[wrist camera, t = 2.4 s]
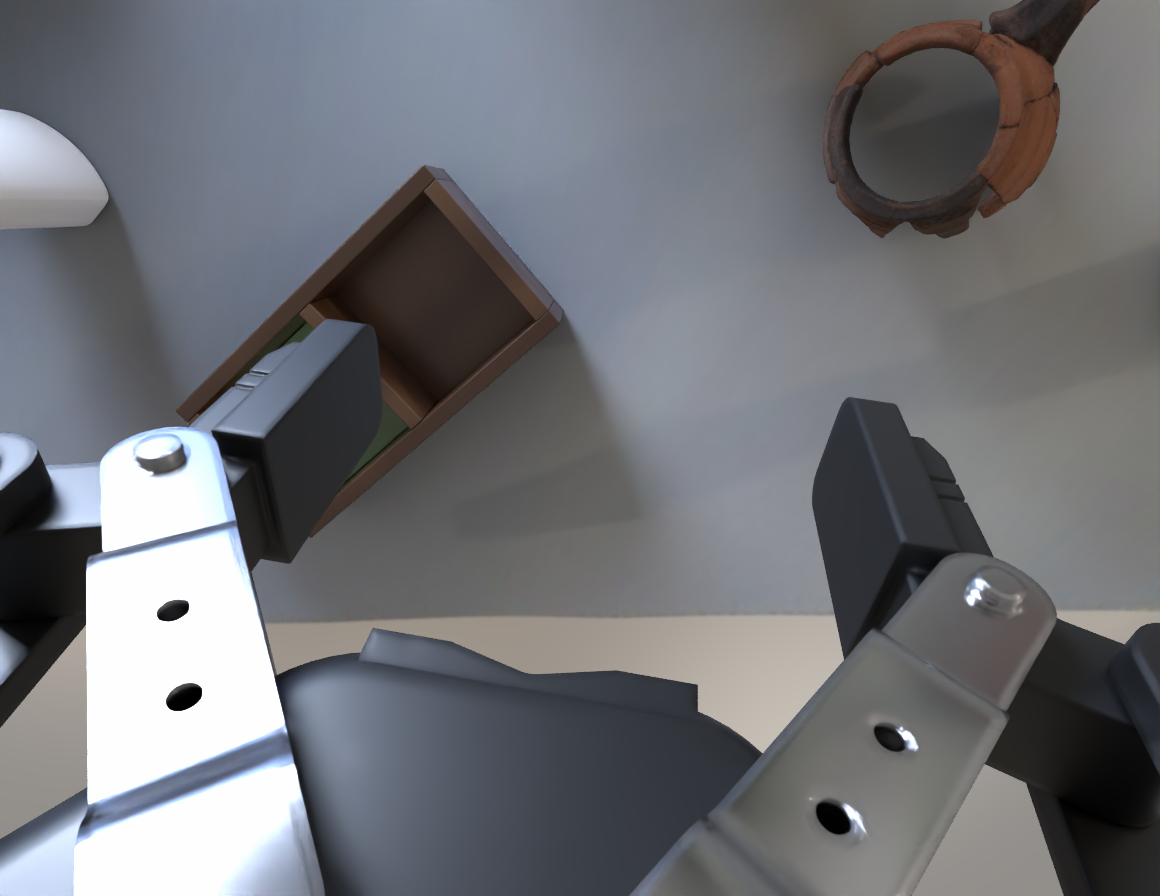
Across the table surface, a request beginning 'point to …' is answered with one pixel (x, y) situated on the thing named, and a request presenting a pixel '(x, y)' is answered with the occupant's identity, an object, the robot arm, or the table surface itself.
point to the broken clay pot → (1026, 119)
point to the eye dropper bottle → (44, 177)
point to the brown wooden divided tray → (410, 317)
